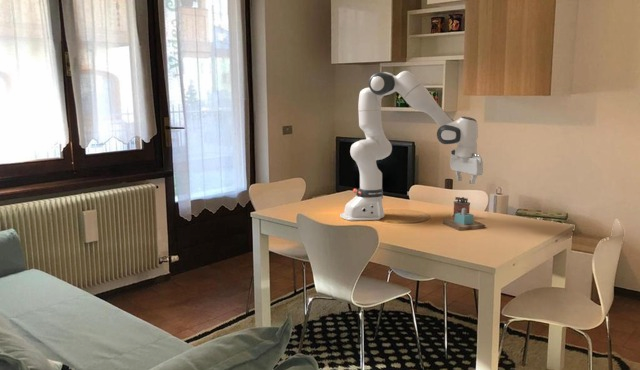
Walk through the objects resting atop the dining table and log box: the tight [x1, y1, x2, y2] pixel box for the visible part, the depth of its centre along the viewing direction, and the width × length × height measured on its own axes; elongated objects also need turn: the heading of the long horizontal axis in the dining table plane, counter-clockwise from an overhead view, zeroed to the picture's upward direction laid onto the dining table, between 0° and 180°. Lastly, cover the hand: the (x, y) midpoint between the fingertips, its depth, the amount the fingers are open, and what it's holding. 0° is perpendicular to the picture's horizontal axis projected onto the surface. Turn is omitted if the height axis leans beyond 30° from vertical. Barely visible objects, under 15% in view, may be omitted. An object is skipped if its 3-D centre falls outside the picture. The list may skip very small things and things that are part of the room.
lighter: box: [452, 196, 471, 218], centre depth 281 cm, size 8×3×10 cm, turn 65°
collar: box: [454, 212, 474, 225], centre depth 263 cm, size 6×6×4 cm
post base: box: [442, 208, 486, 231], centre depth 263 cm, size 14×14×8 cm
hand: (465, 182), depth 260 cm, fingers open, 8 cm apart
